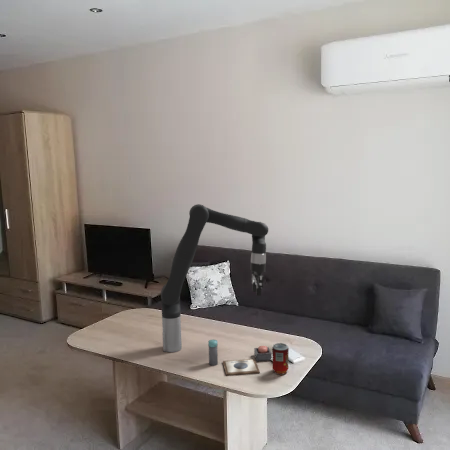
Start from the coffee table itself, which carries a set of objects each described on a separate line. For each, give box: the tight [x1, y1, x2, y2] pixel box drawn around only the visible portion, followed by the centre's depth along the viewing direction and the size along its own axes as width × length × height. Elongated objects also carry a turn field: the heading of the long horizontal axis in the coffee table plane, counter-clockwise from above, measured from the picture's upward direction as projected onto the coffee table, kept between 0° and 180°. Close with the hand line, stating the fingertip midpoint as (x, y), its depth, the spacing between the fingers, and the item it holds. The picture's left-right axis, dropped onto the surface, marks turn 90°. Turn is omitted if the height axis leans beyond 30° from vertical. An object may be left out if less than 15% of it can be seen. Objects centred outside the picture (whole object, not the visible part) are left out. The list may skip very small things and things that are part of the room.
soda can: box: [272, 342, 290, 375], centre depth 199 cm, size 7×7×12 cm
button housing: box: [253, 346, 273, 362], centre depth 213 cm, size 7×7×4 cm
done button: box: [257, 345, 268, 353], centre depth 213 cm, size 4×4×2 cm
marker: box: [207, 339, 219, 367], centre depth 207 cm, size 4×4×11 cm
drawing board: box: [222, 358, 261, 377], centre depth 203 cm, size 15×13×1 cm
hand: (256, 293), depth 225 cm, fingers open, 8 cm apart
